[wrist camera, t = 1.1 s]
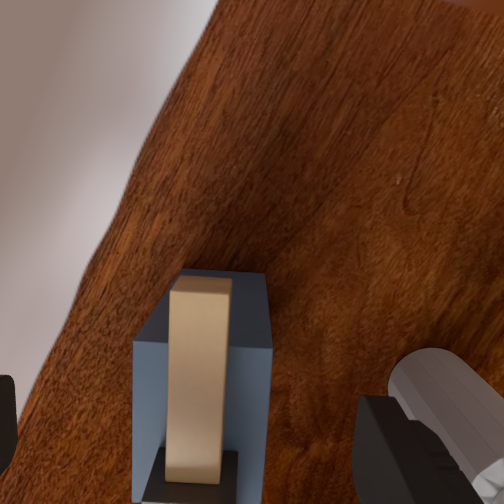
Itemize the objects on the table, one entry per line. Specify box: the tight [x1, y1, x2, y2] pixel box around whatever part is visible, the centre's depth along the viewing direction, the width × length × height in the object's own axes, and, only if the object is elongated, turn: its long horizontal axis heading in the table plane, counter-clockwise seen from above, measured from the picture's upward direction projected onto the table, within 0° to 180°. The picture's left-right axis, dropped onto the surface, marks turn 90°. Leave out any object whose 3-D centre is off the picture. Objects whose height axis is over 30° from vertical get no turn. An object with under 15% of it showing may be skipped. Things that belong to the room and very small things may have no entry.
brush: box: [141, 275, 239, 504], centre depth 18 cm, size 12×4×3 cm, turn 176°
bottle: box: [388, 348, 504, 504], centre depth 25 cm, size 6×6×16 cm
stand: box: [132, 268, 273, 504], centre depth 26 cm, size 8×6×13 cm
